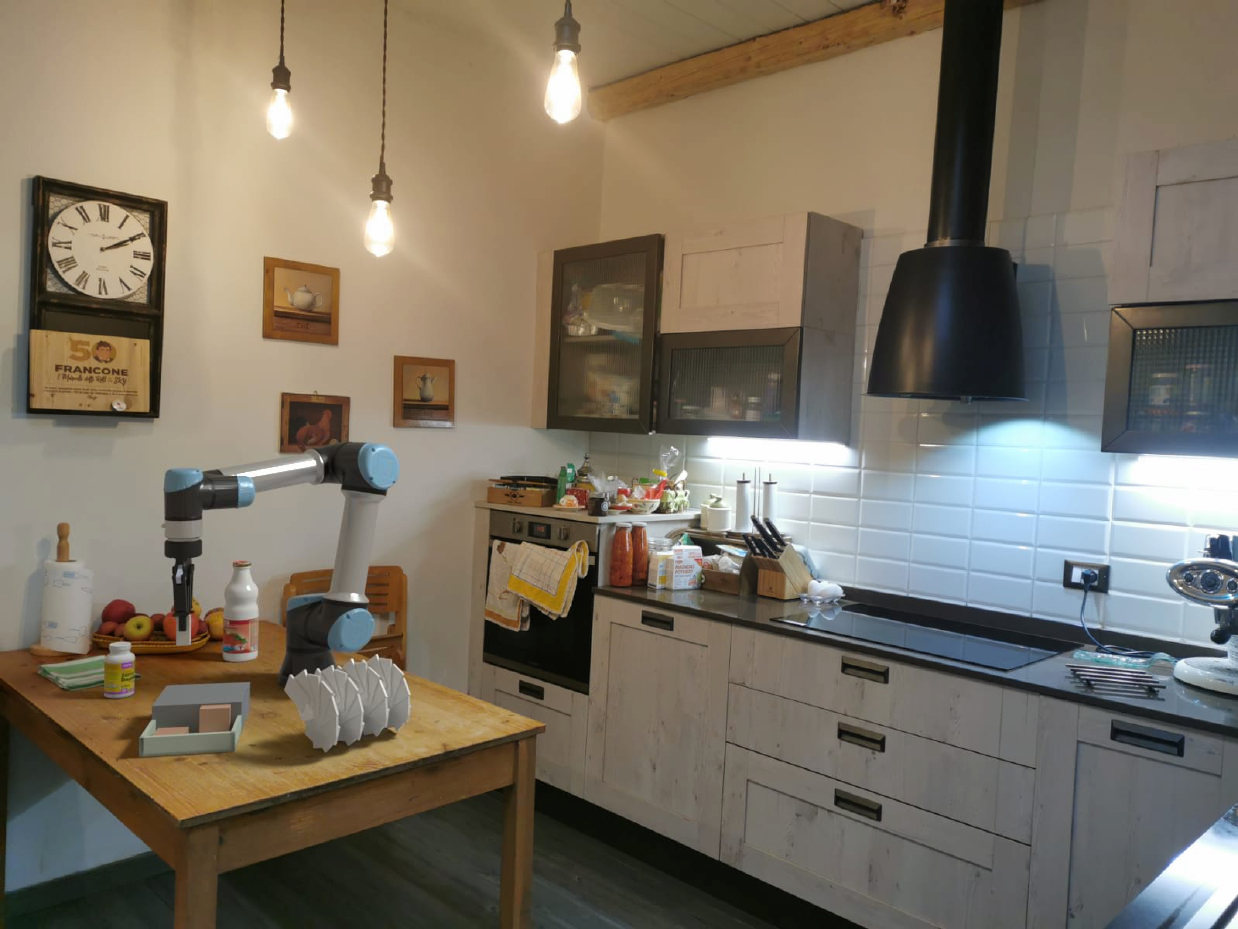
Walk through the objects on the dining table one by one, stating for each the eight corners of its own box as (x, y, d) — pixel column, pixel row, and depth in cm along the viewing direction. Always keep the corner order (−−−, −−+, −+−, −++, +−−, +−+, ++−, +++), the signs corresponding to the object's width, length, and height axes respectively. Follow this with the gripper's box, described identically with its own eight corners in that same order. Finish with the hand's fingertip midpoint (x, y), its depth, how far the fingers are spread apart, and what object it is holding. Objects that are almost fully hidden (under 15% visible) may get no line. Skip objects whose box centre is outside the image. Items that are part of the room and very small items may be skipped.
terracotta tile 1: (231, 704, 199) (229, 707, 197) (230, 731, 199) (229, 734, 197) (201, 705, 198) (199, 709, 195) (201, 732, 198) (199, 736, 195)
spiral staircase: (408, 748, 206) (312, 774, 186) (367, 700, 215) (271, 719, 195) (436, 683, 201) (340, 702, 181) (392, 636, 210) (297, 650, 191)
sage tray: (241, 733, 200) (241, 715, 200) (234, 751, 189) (234, 732, 189) (151, 738, 195) (151, 719, 195) (139, 757, 184) (139, 738, 184)
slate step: (249, 711, 215) (250, 682, 215) (241, 733, 200) (241, 701, 200) (166, 715, 210) (166, 685, 210) (151, 738, 195) (152, 706, 195)
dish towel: (66, 694, 224) (66, 683, 224) (34, 675, 240) (34, 664, 239) (141, 680, 238) (142, 670, 238) (106, 663, 253) (106, 653, 253)
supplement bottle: (121, 700, 220) (121, 648, 219) (97, 698, 221) (98, 645, 220) (140, 692, 226) (141, 641, 226) (117, 690, 227) (118, 639, 227)
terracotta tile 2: (181, 736, 188) (181, 748, 188) (188, 726, 194) (188, 738, 194) (150, 737, 187) (150, 749, 187) (158, 728, 193) (158, 739, 193)
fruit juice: (264, 658, 262) (266, 562, 260) (233, 664, 254) (234, 565, 253) (247, 652, 267) (248, 558, 266) (216, 658, 260) (217, 561, 259)
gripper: (170, 534, 204) (170, 638, 205) (158, 543, 191) (158, 653, 192) (206, 534, 206) (206, 636, 207) (197, 542, 193) (197, 651, 195)
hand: (183, 644), depth 200 cm, fingers closed
